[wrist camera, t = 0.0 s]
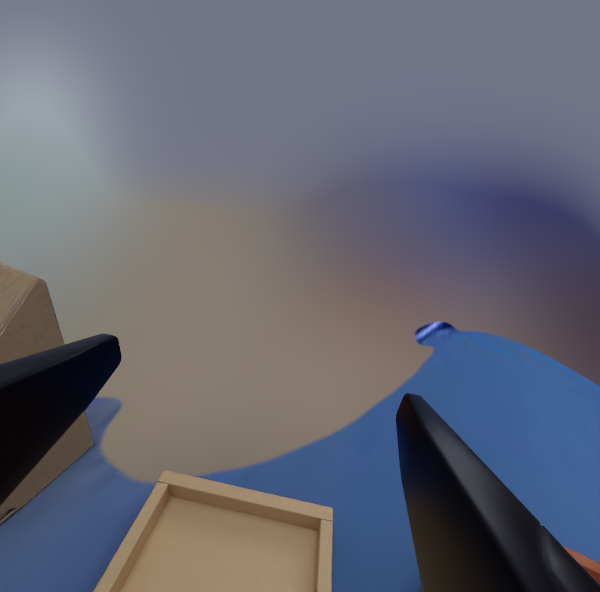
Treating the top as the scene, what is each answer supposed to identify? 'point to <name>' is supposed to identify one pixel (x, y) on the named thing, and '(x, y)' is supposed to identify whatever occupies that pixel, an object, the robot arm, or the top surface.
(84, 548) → the top surface
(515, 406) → the top surface
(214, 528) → the tray
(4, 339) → the sandwich container
